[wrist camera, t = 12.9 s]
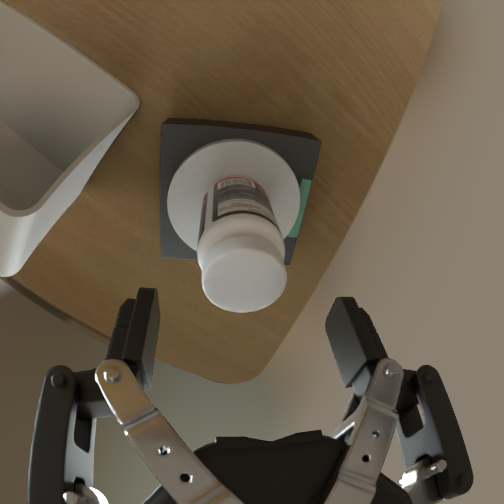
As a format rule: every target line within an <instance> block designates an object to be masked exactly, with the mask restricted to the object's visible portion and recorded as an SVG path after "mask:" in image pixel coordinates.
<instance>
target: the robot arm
mask: <svg viewBox="0 0 504 504" xmlns="http://www.w3.org/2000/svg"><path fill="white" fill-rule="evenodd" d="M159 325H160V310H159V301H158V292H157V289H154V288H142V287H140V288H139V290H138V294H137V298H136V299H127V300H126V301H125V302H124V303H123V304H122V305H121V307H120V310H119V313H118V316H117V319H116V323H115V327H114V330H113V333H112V337H111V341H110V344H109V348H108V352H107V356H106V359H105V360H104V361H103V362H102V363H100V365H99V366H98V367H97V368H95V369H92V370H88V371H80V372H72V370H71V369H70V368H68V367H66V366H63V365H58V366H54V367H52V368H51V369H50V370H49V371H48V372H47V373H46V375H45V377H44V381H43V385H42V390H41V394H40V398H39V403H38V408H37V413H36V419H35V424H34V431H33V437H32V445H31V453H30V463H29V476H28V504H108V502H107V500H106V498H105V497H104V495H103V494H102V493H101V492H99V491H98V490H96V489H93V461H94V442H95V429H96V419H97V418H102V417H109V416H116V418H117V420H118V422H119V423H120V425H121V427H122V429H123V431H124V432H125V434H126V436H127V437H128V439H129V440H130V442H131V443H132V445H133V446H134V448H135V449H136V451H137V452H138V454H139V455H140V457H141V458H142V459H143V461H144V462H145V464H146V465H147V466H148V468H149V469H150V470H151V471H152V473H153V474H154V475H155V477H156V478H157V479H158V481H159V482H160V483H161V485H160V486H159V487H158V488H157V489H156V490H155V491H154V492H153V493H152V494H151V495H150V496H149V498H147V499H146V500H145V501H144V502H143V503H142V504H436V503H439V502H443V501H445V500H448V499H451V498H454V497H457V496H460V495H462V494H465V493H466V492H468V491H469V490H470V488H471V486H472V484H473V472H472V468H471V464H470V461H469V457H468V454H467V450H466V447H465V443H464V440H463V437H462V434H461V431H460V428H459V425H458V422H457V419H456V416H455V414H454V411H453V408H452V406H451V403H450V400H449V397H448V395H447V392H446V390H445V387H444V385H443V382H442V380H441V378H440V375H439V373H438V372H437V370H436V369H435V368H433V367H432V366H430V365H423V366H421V367H420V368H419V369H418V370H417V371H412V370H406V369H402V367H401V365H400V364H399V363H398V362H396V361H395V360H393V359H390V358H388V356H387V353H386V351H385V349H384V347H383V344H382V342H381V340H380V338H379V335H378V333H376V329H375V327H374V326H373V323H372V320H371V319H370V316H369V315H368V314H367V313H366V312H365V311H364V310H363V308H359V307H358V305H357V303H356V301H355V299H354V298H353V297H337V298H336V299H335V302H334V304H333V306H332V308H331V310H330V312H329V314H328V316H327V319H326V324H325V328H326V332H327V335H328V338H329V342H330V345H331V347H332V351H333V353H334V357H335V360H336V363H337V366H338V369H339V373H340V376H341V379H342V382H343V386H344V388H348V387H353V389H354V392H353V393H352V395H351V397H350V399H349V402H348V404H347V406H346V408H345V411H344V413H343V415H342V417H341V419H340V422H339V424H338V425H337V427H336V428H335V430H334V431H333V432H332V434H331V435H330V437H329V436H324V435H322V432H321V430H315V431H308V432H301V433H295V434H293V435H290V436H287V437H284V438H281V439H278V440H275V441H264V440H258V439H253V438H248V437H216V440H215V442H213V443H208V444H206V445H203V446H201V447H199V448H197V449H195V450H194V451H191V450H190V449H189V448H188V446H187V445H186V444H185V442H184V441H183V440H182V439H181V438H180V436H179V435H178V434H177V433H176V431H175V430H174V429H173V427H172V426H171V425H170V423H169V422H168V421H167V420H166V418H165V417H164V416H163V414H162V413H161V412H160V411H159V410H158V409H157V408H156V407H155V406H154V405H153V403H152V402H151V401H150V399H149V398H148V396H147V395H146V393H145V392H144V389H147V390H151V381H152V374H153V366H154V359H155V352H156V345H157V338H158V332H159ZM418 404H420V406H421V409H422V413H423V416H424V419H425V425H424V426H423V423H422V420H421V416H420V414H419V411H418V407H417V405H418ZM395 430H396V434H397V438H398V441H399V445H400V449H401V453H402V457H403V462H404V466H405V471H404V473H403V477H402V478H401V479H400V485H401V486H402V487H400V486H399V485H397V484H396V483H395V482H393V481H392V480H390V479H389V478H388V477H386V476H385V475H384V474H382V473H381V472H380V471H381V468H382V466H383V463H384V461H385V458H386V455H387V452H388V449H389V446H390V444H391V440H392V437H393V434H394V431H395Z"/></svg>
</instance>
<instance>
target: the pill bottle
mask: <svg viewBox="0 0 504 504" xmlns="http://www.w3.org/2000/svg"><path fill="white" fill-rule="evenodd" d="M197 257H198V262H199V265H200V267H201V269H202V286H203V290H204V293H205V295H206V296H207V298H208V299H209V300H210V301H211V302H212V303H214V304H215V305H216V306H218V307H220V308H222V309H224V310H228V311H232V312H252V311H256V310H260V309H262V308H265V307H267V306H269V305H270V304H272V303H273V302H274V301H276V300H277V299H278V298H279V297H280V295H281V294H282V293H283V291H284V289H285V286H286V282H287V274H286V270H285V266H284V257H285V246H284V241H283V237H282V234H281V231H280V229H279V226H278V223H277V221H276V218H275V215H274V213H273V210H272V207H271V204H270V201H269V198H268V196H267V194H266V192H265V191H264V189H263V188H262V187H261V186H260V185H259V184H258V183H257V182H255V181H254V180H252V179H250V178H247V177H243V176H230V177H226V178H223V179H221V180H219V181H217V182H216V183H214V184H213V185H212V186H211V187H210V188H209V189H208V190H207V192H206V194H205V196H204V198H203V202H202V209H201V217H200V227H199V236H198V245H197Z"/></svg>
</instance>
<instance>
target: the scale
mask: <svg viewBox="0 0 504 504" xmlns="http://www.w3.org/2000/svg"><path fill="white" fill-rule="evenodd" d="M320 145H321V140H319V139H318V138H317V137H315V136H314V135H312V134H310V133H305V132H299V131H294V130H288V129H281V128H275V127H268V126H261V125H253V124H244V123H235V122H225V121H213V120H199V119H178V118H168V119H167V120H166V121H164V122H163V123H162V129H161V150H160V240H161V257H164V258H180V259H196V260H198V257H197V245H198V236H199V227H200V217H201V209H202V202H203V198H204V196H205V194H206V192H207V190H208V189H209V188H210V187H211V186H212V185H213V184H214V183H216V182H217V181H219V180H221V179H223V178H226V177H230V176H243V177H247V178H250V179H252V180H254V181H255V182H257V183H258V184H259V185H260V186H261V187H262V188H263V189H264V191H265V192H266V194H267V196H268V198H269V201H270V204H271V207H272V210H273V213H274V215H275V218H276V221H277V223H278V226H279V229H280V231H281V234H282V237H283V241H284V246H285V257H284V265H290V262H291V258H292V255H293V251H294V247H295V244H296V240H297V237H298V233H299V229H300V226H301V222H302V218H303V214H304V210H305V206H306V203H307V199H308V195H309V191H310V187H311V183H312V178H313V174H314V170H315V166H316V162H317V158H318V153H319V149H320Z"/></svg>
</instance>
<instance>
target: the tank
mask: <svg viewBox="0 0 504 504" xmlns="http://www.w3.org/2000/svg"><path fill="white" fill-rule="evenodd" d="M139 105H140V101H139V98H138V96H137V95H136V94H135V92H134V91H132V90H131V89H130V88H128V87H127V86H126V85H125V84H123V83H122V82H121V81H119V80H118V79H117V78H115V77H114V76H113V75H111V74H110V73H109V72H107V71H106V70H105V69H103V68H102V67H101V66H99V65H98V64H96V63H95V62H94V61H92V60H91V59H90V58H88V57H87V56H85V55H84V54H83V53H81V52H80V51H78V50H77V49H76V48H74V47H73V46H71V45H70V44H68V43H67V42H66V41H64V40H63V39H61V38H60V37H58V36H57V35H55V34H54V33H52V32H51V31H49V30H48V29H46V28H45V27H43V26H42V25H40V24H39V23H37V22H36V21H34V20H32V19H31V18H29V17H28V16H26V15H25V14H23V13H21V12H20V11H18V10H16V9H15V8H13V7H11V6H10V5H8V4H6V3H5V2H3V1H1V0H0V276H1V277H8V276H12V275H14V274H16V273H17V272H18V271H19V270H20V269H21V267H22V266H23V265H24V263H25V262H26V260H27V259H28V257H29V256H30V255H31V253H32V252H33V251H34V249H35V248H36V247H37V245H38V244H39V243H40V241H41V240H42V239H43V237H44V236H45V235H46V234H47V232H48V231H49V230H50V229H51V227H52V226H53V225H54V224H55V222H56V221H57V220H58V219H59V218H60V216H61V215H62V214H63V213H64V212H65V211H66V210H67V208H68V207H69V206H70V205H71V204H72V203H73V202H74V200H75V199H76V198H77V197H78V196H79V195H80V193H81V191H82V189H83V188H84V186H85V184H86V183H87V181H88V179H89V178H90V176H91V174H92V173H93V171H94V170H95V168H96V166H97V165H98V163H99V162H100V160H101V159H102V157H103V156H104V154H105V153H106V151H107V150H108V148H109V147H110V145H111V144H112V143H113V141H114V140H115V138H116V137H117V135H118V134H119V133H120V131H121V130H122V129H123V127H124V126H125V125H126V123H127V122H128V121H129V119H130V118H131V117H132V115H133V114H134V113H135V112H136V110H137V109H138V108H139Z"/></svg>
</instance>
